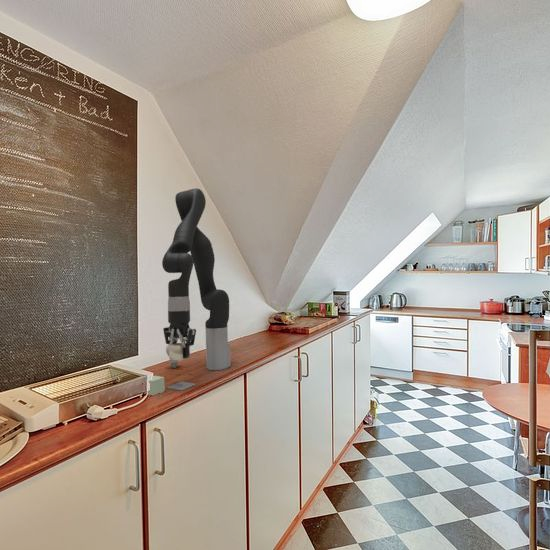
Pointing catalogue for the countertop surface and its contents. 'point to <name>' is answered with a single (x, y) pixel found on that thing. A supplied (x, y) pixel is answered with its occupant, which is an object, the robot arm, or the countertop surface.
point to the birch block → (177, 352)
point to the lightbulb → (173, 362)
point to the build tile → (181, 386)
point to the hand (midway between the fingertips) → (179, 356)
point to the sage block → (156, 385)
